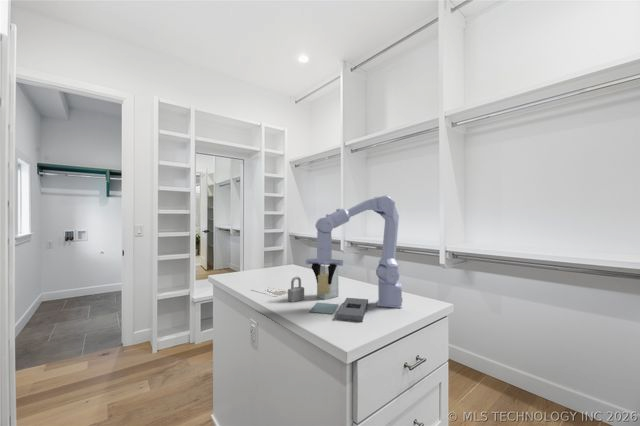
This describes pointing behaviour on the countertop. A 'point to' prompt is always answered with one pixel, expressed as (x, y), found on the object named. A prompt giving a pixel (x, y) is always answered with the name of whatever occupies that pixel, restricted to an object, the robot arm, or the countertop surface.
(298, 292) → the padlock
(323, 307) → the rubber mat
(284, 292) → the grooming comb
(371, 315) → the countertop surface
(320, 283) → the tan rectangular block
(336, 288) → the skincare box
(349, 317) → the grey slotted base plate
